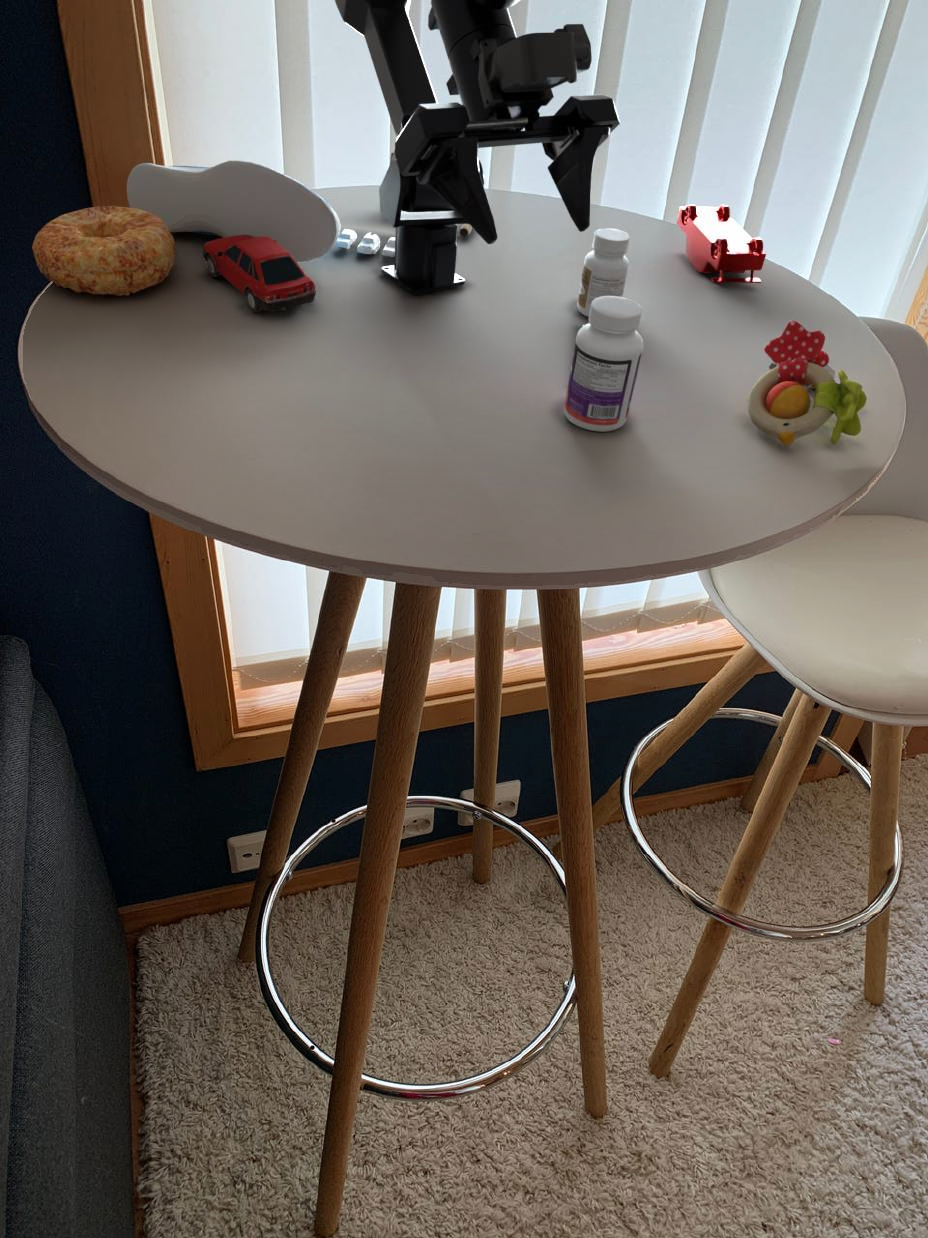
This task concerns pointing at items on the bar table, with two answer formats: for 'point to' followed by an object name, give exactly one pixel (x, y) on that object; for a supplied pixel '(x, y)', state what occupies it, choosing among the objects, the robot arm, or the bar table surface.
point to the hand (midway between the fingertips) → (540, 235)
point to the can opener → (465, 230)
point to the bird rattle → (803, 390)
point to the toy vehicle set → (365, 243)
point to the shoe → (237, 204)
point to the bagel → (105, 250)
